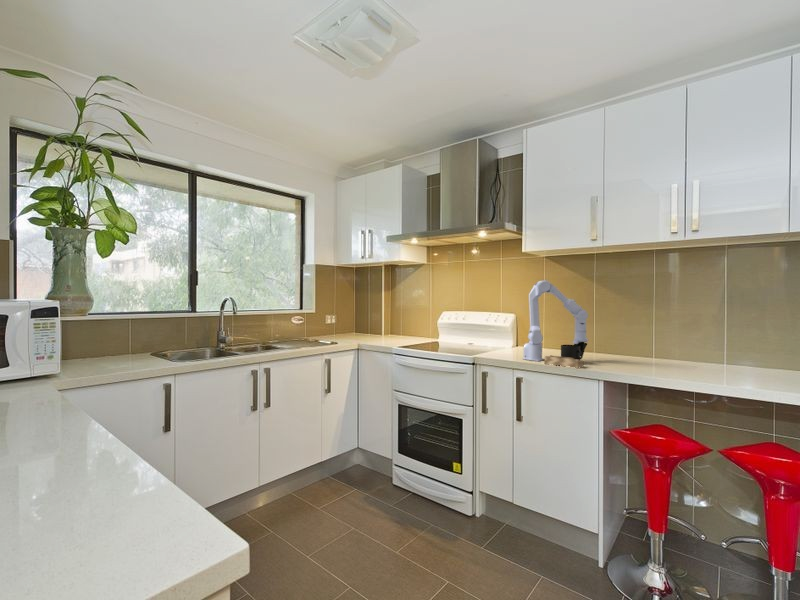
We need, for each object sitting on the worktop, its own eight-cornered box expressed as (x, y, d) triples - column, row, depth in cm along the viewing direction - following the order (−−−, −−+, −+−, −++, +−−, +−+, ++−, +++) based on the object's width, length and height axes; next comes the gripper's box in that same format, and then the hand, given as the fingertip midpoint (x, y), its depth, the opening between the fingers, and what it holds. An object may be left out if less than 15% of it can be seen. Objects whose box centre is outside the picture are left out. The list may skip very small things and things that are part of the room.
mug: (576, 365, 203) (576, 347, 203) (556, 362, 214) (557, 345, 214) (588, 364, 208) (588, 346, 208) (568, 360, 218) (568, 344, 218)
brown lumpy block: (544, 364, 207) (544, 355, 207) (550, 362, 212) (550, 353, 212) (577, 368, 195) (577, 359, 195) (583, 366, 200) (583, 357, 200)
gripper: (582, 332, 210) (582, 358, 210) (593, 330, 219) (593, 355, 220) (569, 331, 215) (569, 356, 215) (580, 330, 225) (580, 354, 225)
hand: (580, 356), depth 218 cm, fingers closed
